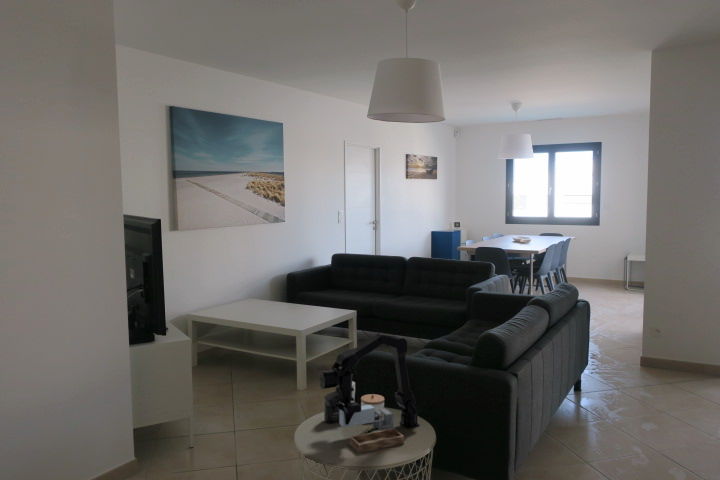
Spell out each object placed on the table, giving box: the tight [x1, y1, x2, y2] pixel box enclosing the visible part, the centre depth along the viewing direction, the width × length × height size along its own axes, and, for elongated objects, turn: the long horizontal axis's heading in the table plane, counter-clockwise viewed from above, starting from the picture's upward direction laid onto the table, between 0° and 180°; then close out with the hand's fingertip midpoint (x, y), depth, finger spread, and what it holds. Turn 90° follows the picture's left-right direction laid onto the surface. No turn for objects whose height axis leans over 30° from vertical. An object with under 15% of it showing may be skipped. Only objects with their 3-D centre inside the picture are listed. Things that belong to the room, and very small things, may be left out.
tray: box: [349, 428, 405, 454], centre depth 216 cm, size 20×8×3 cm, turn 117°
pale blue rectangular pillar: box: [339, 405, 374, 428], centre depth 224 cm, size 14×4×6 cm, turn 115°
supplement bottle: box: [323, 392, 340, 424], centre depth 239 cm, size 7×7×12 cm
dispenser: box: [371, 407, 395, 431], centre depth 230 cm, size 6×7×8 cm
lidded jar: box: [360, 393, 385, 418], centre depth 247 cm, size 11×11×9 cm
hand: (344, 422), depth 222 cm, fingers closed on pale blue rectangular pillar, 4 cm apart
